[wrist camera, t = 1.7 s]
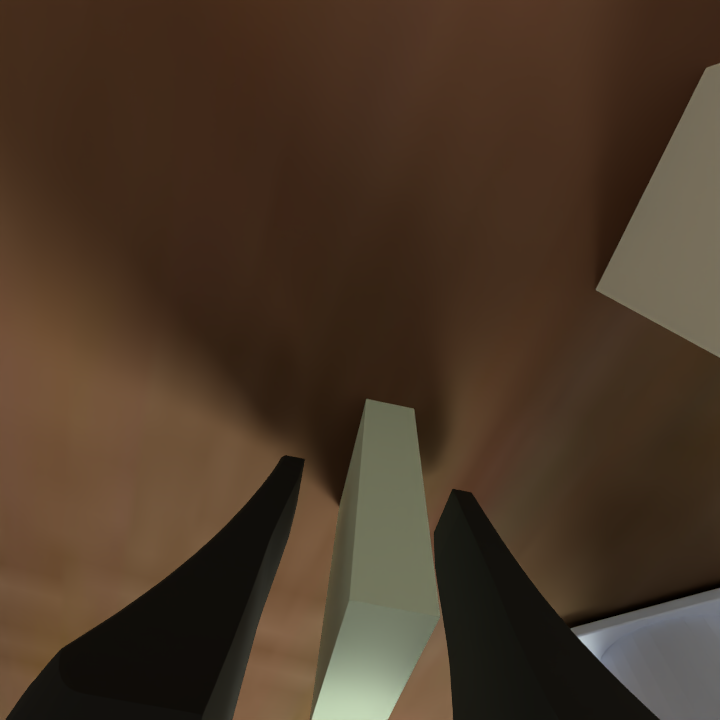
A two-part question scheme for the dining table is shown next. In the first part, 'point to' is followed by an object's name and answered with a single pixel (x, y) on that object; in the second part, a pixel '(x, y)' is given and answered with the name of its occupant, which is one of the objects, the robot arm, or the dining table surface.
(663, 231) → the tile
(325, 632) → the tile
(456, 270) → the dining table surface
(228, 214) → the dining table surface
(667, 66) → the dining table surface
